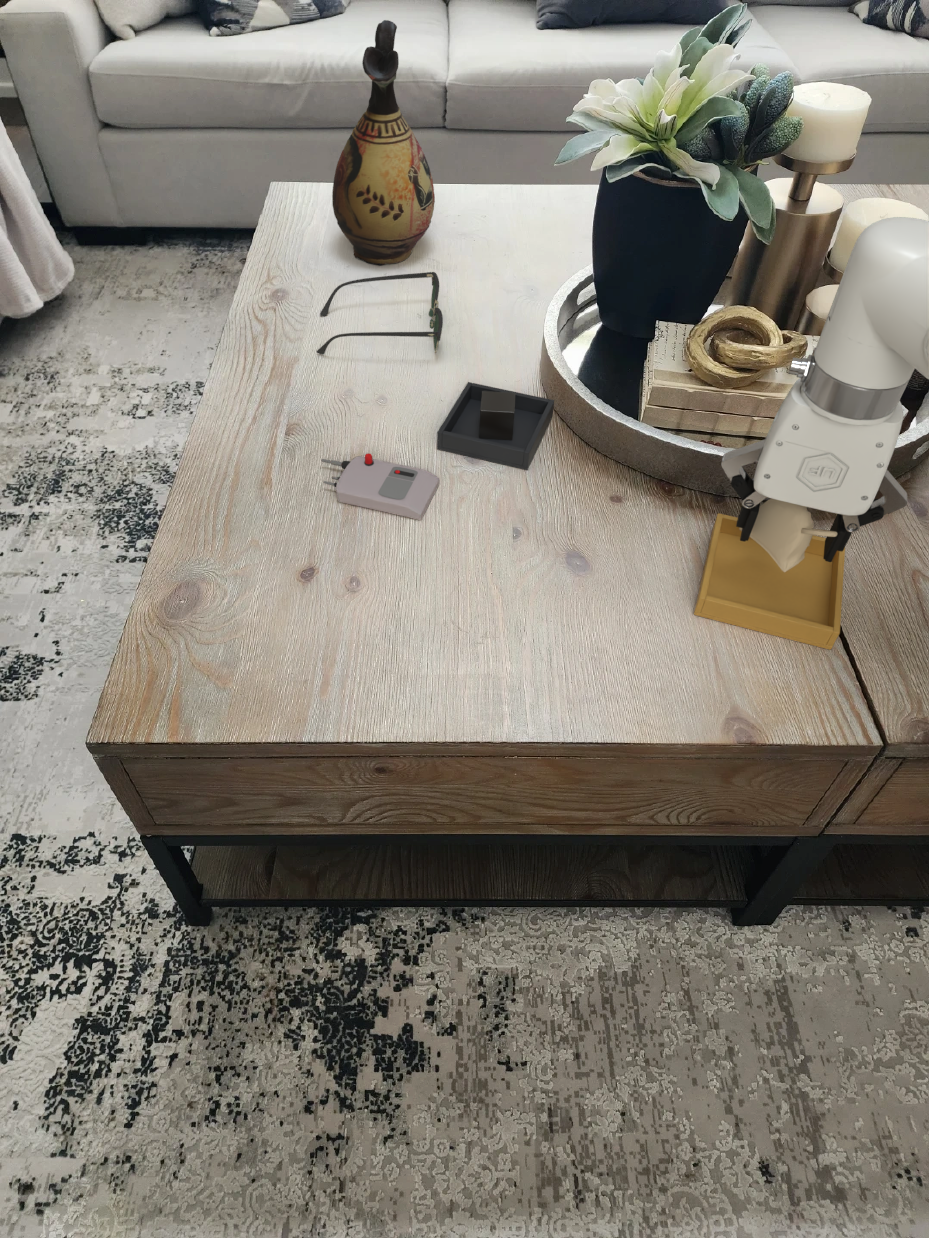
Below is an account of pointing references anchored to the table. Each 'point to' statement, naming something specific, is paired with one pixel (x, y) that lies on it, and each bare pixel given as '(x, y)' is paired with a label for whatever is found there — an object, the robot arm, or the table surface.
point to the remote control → (385, 486)
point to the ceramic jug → (383, 169)
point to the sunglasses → (433, 324)
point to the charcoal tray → (519, 452)
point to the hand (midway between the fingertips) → (786, 541)
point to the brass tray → (771, 588)
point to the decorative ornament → (785, 532)
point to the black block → (497, 415)
